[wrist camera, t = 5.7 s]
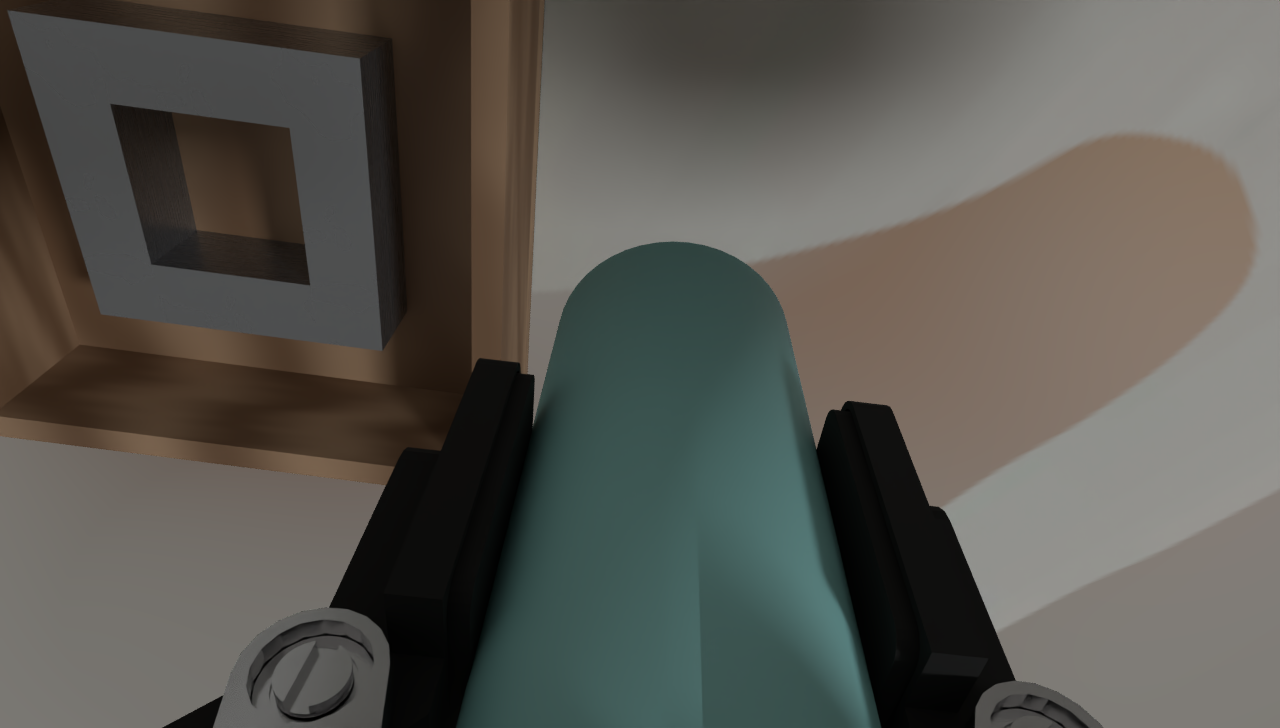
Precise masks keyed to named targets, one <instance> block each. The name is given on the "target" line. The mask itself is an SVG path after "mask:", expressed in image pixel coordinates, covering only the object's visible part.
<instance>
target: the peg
mask: <svg viewBox="0 0 1280 728" xmlns="http://www.w3.org/2000/svg"><path fill="white" fill-rule="evenodd" d="M456 728H881V724H880V720H879V716H878V712H877V707H876V703H875V699H874V694H873V690H872V686H871V682H870V677H869V673H868V669H867V665H866V660H865V656H864V652H863V647H862V643H861V639H860V635H859V630H858V626H857V622H856V617H855V613H854V609H853V605H852V600H851V596H850V592H849V587H848V583H847V579H846V575H845V570H844V566H843V562H842V558H841V553H840V549H839V545H838V540H837V536H836V532H835V528H834V523H833V519H832V515H831V510H830V506H829V502H828V498H827V493H826V489H825V485H824V480H823V476H822V472H821V468H820V463H819V459H818V455H817V451H816V446H815V442H814V438H813V434H812V429H811V425H810V421H809V416H808V412H807V408H806V404H805V399H804V395H803V391H802V386H801V382H800V378H799V374H798V369H797V365H796V361H795V357H794V352H793V348H792V344H791V339H790V335H789V331H788V327H787V322H786V319H785V315H784V312H783V309H782V307H781V305H780V303H779V301H778V299H777V297H776V295H775V294H774V292H773V291H772V289H771V288H770V286H769V285H768V284H767V283H766V282H765V281H764V279H763V278H762V277H761V276H760V275H759V274H758V273H757V272H755V271H754V270H753V269H752V268H751V267H749V266H748V265H747V264H745V263H744V262H742V261H740V260H739V259H737V258H736V257H734V256H732V255H729V254H727V253H725V252H723V251H721V250H718V249H714V248H711V247H708V246H705V245H699V244H694V243H687V242H659V243H652V244H646V245H641V246H638V247H634V248H631V249H628V250H625V251H623V252H621V253H619V254H616V255H614V256H612V257H610V258H609V259H607V260H605V261H604V262H602V263H601V264H599V265H598V266H596V267H595V268H594V269H593V270H592V271H590V272H589V273H588V274H587V275H586V276H585V277H584V278H583V279H582V280H581V281H580V283H579V284H578V285H577V286H576V288H575V289H574V291H573V292H572V294H571V295H570V297H569V299H568V301H567V303H566V305H565V307H564V309H563V312H562V316H561V319H560V322H559V326H558V330H557V334H556V338H555V342H554V346H553V350H552V354H551V358H550V362H549V365H548V369H547V373H546V377H545V381H544V385H543V389H542V393H541V397H540V401H539V405H538V408H537V413H536V416H535V420H534V424H533V428H532V434H531V438H530V442H529V446H528V449H527V453H526V457H525V461H524V465H523V469H522V473H521V477H520V481H519V485H518V489H517V493H516V497H515V500H514V504H513V508H512V512H511V516H510V520H509V524H508V528H507V532H506V536H505V540H504V544H503V547H502V551H501V555H500V559H499V563H498V567H497V571H496V575H495V579H494V583H493V587H492V591H491V595H490V598H489V602H488V606H487V610H486V614H485V618H484V622H483V626H482V630H481V634H480V638H479V642H478V646H477V649H476V653H475V657H474V661H473V665H472V669H471V673H470V676H469V679H468V682H467V686H466V689H465V693H464V697H463V701H462V705H461V709H460V713H459V717H458V721H457V724H456Z"/></svg>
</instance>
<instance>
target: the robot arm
mask: <svg viewBox="0 0 1280 728" xmlns="http://www.w3.org/2000/svg"><path fill="white" fill-rule="evenodd" d="M534 380H535V379H534V375H530V374H521V367H520V363H518V362H510V361H501V360H493V359H484V358H479V359H478V360H477V362H476V364H475V367H474V369H473V372H472V374H471V377H470V379H469V382H468V384H467V387H466V389H465V392H464V394H463V397H462V399H461V402H460V404H459V407H458V409H457V412H456V414H455V417H454V419H453V422H452V424H451V427H450V429H449V431H448V434H447V436H446V439H445V441H444V444H443V446H442V449H441V451H439V450H430V449H421V448H412V447H407V448H406V449H404V450H403V452H402V454H401V455H400V457H399V459H398V461H397V463H396V465H395V467H394V469H393V472H392V474H391V476H390V478H389V480H388V482H387V484H386V487H385V489H384V491H383V493H382V495H381V497H380V500H379V502H378V504H377V506H376V508H375V510H374V512H373V514H372V517H371V519H370V521H369V523H368V525H367V527H366V530H365V532H364V534H363V536H362V538H361V540H360V542H359V545H358V547H357V549H356V551H355V553H354V555H353V558H352V560H351V562H350V564H349V566H348V568H347V570H346V572H345V575H344V577H343V579H342V581H341V583H340V585H339V588H338V590H337V592H336V594H335V596H334V598H333V600H332V602H331V605H330V607H329V608H327V607H326V608H319V609H313V610H307V611H301V612H299V613H296V614H294V615H291V616H289V617H286V618H284V619H282V620H279V621H278V622H276V623H274V624H273V625H271V626H270V627H269V628H267V629H266V630H264V631H262V632H261V633H260V634H258V635H257V636H256V637H255V638H254V639H253V641H251V643H250V644H249V645H248V646H247V647H246V648H245V649H244V650H243V651H242V652H241V654H240V656H239V658H238V660H237V662H236V664H235V666H234V668H233V670H232V672H231V674H230V677H229V680H228V683H227V686H226V689H225V692H224V695H223V696H221V697H219V698H217V699H215V700H214V701H212V702H210V703H208V704H206V705H204V706H202V707H200V708H198V709H197V710H195V711H193V712H191V713H189V714H187V715H185V716H183V717H182V718H180V719H178V720H176V721H174V722H172V723H170V724H169V725H166V726H165V727H163V728H456V724H457V721H458V717H459V713H460V709H461V705H462V701H463V697H464V693H465V689H466V686H467V682H468V679H469V676H470V673H471V669H472V665H473V661H474V657H475V653H476V649H477V646H478V642H479V638H480V634H481V630H482V626H483V622H484V618H485V614H486V610H487V606H488V602H489V598H490V595H491V591H492V587H493V583H494V579H495V575H496V571H497V567H498V563H499V559H500V555H501V551H502V547H503V544H504V540H505V536H506V532H507V528H508V524H509V520H510V516H511V512H512V508H513V504H514V500H515V497H516V493H517V489H518V485H519V481H520V477H521V473H522V469H523V465H524V461H525V457H526V453H527V449H528V446H529V442H530V438H531V434H532V427H533V404H534V382H535V381H534ZM816 451H817V455H818V459H819V463H820V468H821V472H822V476H823V480H824V485H825V489H826V493H827V498H828V502H829V506H830V510H831V515H832V519H833V523H834V528H835V532H836V536H837V540H838V545H839V549H840V553H841V558H842V562H843V566H844V570H845V575H846V579H847V583H848V587H849V592H850V596H851V600H852V605H853V609H854V613H855V617H856V622H857V626H858V630H859V635H860V639H861V643H862V647H863V652H864V656H865V660H866V665H867V669H868V673H869V677H870V682H871V686H872V690H873V694H874V699H875V703H876V707H877V712H878V716H879V720H880V724H881V728H1103V727H1102V725H1101V724H1100V723H1099V722H1098V721H1097V720H1096V719H1094V718H1093V717H1092V716H1091V715H1090V714H1089V713H1088V712H1087V711H1085V710H1084V709H1083V708H1082V707H1081V706H1080V705H1078V704H1077V703H1075V702H1073V701H1072V700H1070V699H1068V698H1067V697H1065V696H1064V695H1062V694H1060V693H1059V692H1057V691H1054V690H1051V689H1049V688H1046V687H1043V686H1041V685H1038V684H1036V683H1028V682H1020V681H1016V680H1015V678H1014V675H1013V673H1012V670H1011V668H1010V666H1009V663H1008V661H1007V658H1006V656H1005V654H1004V651H1003V648H1002V646H1001V644H1000V641H999V639H998V637H997V634H996V631H995V629H994V627H993V624H992V622H991V619H990V617H989V614H988V612H987V610H986V607H985V605H984V602H983V600H982V597H981V595H980V593H979V590H978V588H977V585H976V583H975V580H974V578H973V576H972V573H971V571H970V568H969V566H968V563H967V561H966V559H965V556H964V554H963V551H962V549H961V546H960V544H959V542H958V539H957V537H956V534H955V532H954V529H953V527H952V524H951V522H950V520H949V518H948V516H947V515H946V513H945V511H943V510H942V509H941V508H939V507H934V506H929V504H928V501H927V498H926V496H925V493H924V491H923V488H922V486H921V483H920V480H919V478H918V475H917V473H916V470H915V468H914V465H913V463H912V460H911V457H910V455H909V452H908V450H907V447H906V445H905V442H904V439H903V437H902V434H901V432H900V429H899V426H898V424H897V421H896V419H895V416H894V414H893V411H892V409H891V408H890V407H889V406H887V405H879V404H871V403H862V402H854V401H847V402H845V404H844V405H843V407H842V409H841V411H839V410H831V411H829V413H828V415H827V417H826V420H825V424H824V427H823V430H822V434H821V437H820V440H819V443H818V447H817V450H816Z"/></svg>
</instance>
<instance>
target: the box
mask: <svg viewBox="0 0 1280 728" xmlns="http://www.w3.org/2000/svg"><path fill="white" fill-rule="evenodd" d="M45 1H50V0H0V436H4V437H11V438H19V439H27V440H35V441H43V442H51V443H59V444H66V445H75V446H83V447H90V448H98V449H106V450H113V451H122V452H130V453H137V454H145V455H153V456H161V457H169V458H177V459H184V460H192V461H201V462H208V463H216V464H224V465H231V466H239V467H248V468H255V469H263V470H271V471H279V472H287V473H295V474H302V475H310V476H318V477H327V478H334V479H343V480H350V481H357V482H366V483H373V484H381V485H386V484H387V482H388V480H389V478H390V476H391V474H392V472H393V469H394V467H395V465H396V463H397V461H398V459H399V457H400V455H401V454H402V452H403V450H404V449H406V448H407V447H412V448H421V449H430V450H439V451H441V449H442V446H443V444H444V441H445V439H446V436H447V434H448V431H449V429H450V427H451V424H452V422H453V419H454V417H455V414H456V412H457V409H458V407H459V404H460V402H461V399H462V397H463V394H464V392H465V389H466V387H467V384H468V382H469V379H470V377H471V374H472V372H473V369H474V367H475V364H476V362H477V360H478V359H479V358H484V359H493V360H501V361H510V362H518V363H520V367H521V374H527V372H528V371H527V370H528V350H529V328H530V307H531V285H532V263H533V242H534V220H535V198H536V177H537V155H538V133H539V112H540V90H541V68H542V47H543V25H544V3H545V0H117V1H124V2H132V3H139V4H146V5H153V6H161V7H168V8H175V9H183V10H190V11H197V12H204V13H212V14H219V15H226V16H233V17H241V18H248V19H255V20H263V21H270V22H277V23H284V24H292V25H299V26H306V27H313V28H321V29H328V30H335V31H343V32H350V33H357V34H364V35H372V36H379V37H386V38H392V41H393V59H394V78H395V96H396V114H397V132H398V150H399V168H400V186H401V205H402V223H403V241H404V259H405V277H406V295H407V313H406V314H405V316H404V317H403V319H402V321H401V322H400V324H399V325H398V327H397V329H396V330H395V332H394V334H393V335H392V337H391V338H390V340H389V342H388V343H387V345H386V346H385V348H384V350H383V351H378V350H370V349H363V348H355V347H347V346H340V345H332V344H324V343H317V342H309V341H301V340H294V339H286V338H278V337H271V336H263V335H255V334H248V333H240V332H232V331H224V330H217V329H209V328H201V327H194V326H186V325H178V324H171V323H163V322H155V321H148V320H140V319H132V318H125V317H117V316H109V315H102V314H101V313H100V310H99V307H98V303H97V300H96V297H95V294H94V290H93V287H92V284H91V281H90V277H89V274H88V271H87V268H86V264H85V261H84V258H83V255H82V251H81V248H80V245H79V242H78V238H77V235H76V232H75V229H74V225H73V222H72V219H71V216H70V213H69V209H68V206H67V203H66V200H65V196H64V193H63V190H62V187H61V183H60V180H59V177H58V174H57V170H56V167H55V164H54V161H53V157H52V154H51V151H50V148H49V144H48V141H47V138H46V135H45V131H44V128H43V125H42V122H41V118H40V115H39V112H38V109H37V106H36V102H35V99H34V96H33V93H32V89H31V86H30V83H29V80H28V76H27V73H26V70H25V67H24V63H23V60H22V57H21V54H20V50H19V47H18V44H17V41H16V37H15V34H14V31H13V28H12V24H11V21H10V18H9V15H8V11H7V10H11V9H15V8H19V7H24V6H28V5H32V4H37V3H41V2H45ZM172 117H173V122H174V126H175V131H176V136H177V140H178V145H179V150H180V154H181V159H182V164H183V168H184V173H185V178H186V182H187V187H188V192H189V196H190V201H191V206H192V210H193V215H194V220H195V224H196V229H197V230H200V231H208V232H216V233H223V234H231V235H238V236H246V237H253V238H261V239H268V240H276V241H283V242H291V243H299V244H305V241H304V234H303V226H302V219H301V211H300V204H299V196H298V189H297V181H296V173H295V166H294V158H293V151H292V143H291V136H290V128H286V127H279V126H271V125H264V124H256V123H249V122H242V121H234V120H227V119H219V118H212V117H205V116H197V115H190V114H182V113H175V112H172Z"/></svg>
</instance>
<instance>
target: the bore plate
mask: <svg viewBox="0 0 1280 728" xmlns="http://www.w3.org/2000/svg"><path fill="white" fill-rule="evenodd" d="M7 11H8V15H9V18H10V21H11V24H12V28H13V31H14V34H15V37H16V41H17V44H18V47H19V50H20V54H21V57H22V60H23V63H24V67H25V70H26V73H27V76H28V80H29V83H30V86H31V89H32V93H33V96H34V99H35V102H36V106H37V109H38V112H39V115H40V118H41V122H42V125H43V128H44V131H45V135H46V138H47V141H48V144H49V148H50V151H51V154H52V157H53V161H54V164H55V167H56V170H57V174H58V177H59V180H60V183H61V187H62V190H63V193H64V196H65V200H66V203H67V206H68V209H69V213H70V216H71V219H72V222H73V225H74V229H75V232H76V235H77V238H78V242H79V245H80V248H81V251H82V255H83V258H84V261H85V264H86V268H87V271H88V274H89V277H90V281H91V284H92V287H93V290H94V294H95V297H96V300H97V303H98V307H99V310H100V313H101V314H102V315H109V316H117V317H125V318H132V319H140V320H148V321H155V322H163V323H171V324H178V325H186V326H194V327H201V328H209V329H217V330H224V331H232V332H240V333H248V334H255V335H263V336H271V337H278V338H286V339H294V340H301V341H309V342H317V343H324V344H332V345H340V346H347V347H355V348H363V349H370V350H378V351H383V350H384V348H385V346H386V345H387V343H388V342H389V340H390V338H391V337H392V335H393V334H394V332H395V330H396V329H397V327H398V325H399V324H400V322H401V321H402V319H403V317H404V316H405V314H406V313H407V295H406V277H405V259H404V241H403V223H402V205H401V186H400V168H399V150H398V132H397V114H396V96H395V78H394V59H393V41H392V38H386V37H379V36H372V35H364V34H357V33H350V32H343V31H335V30H328V29H321V28H313V27H306V26H299V25H292V24H284V23H277V22H270V21H263V20H255V19H248V18H241V17H233V16H226V15H219V14H212V13H204V12H197V11H190V10H183V9H175V8H168V7H161V6H153V5H146V4H139V3H132V2H124V1H117V0H50V1H45V2H41V3H37V4H32V5H28V6H24V7H19V8H15V9H11V10H7ZM172 112H175V113H182V114H190V115H197V116H205V117H212V118H219V119H227V120H234V121H242V122H249V123H256V124H264V125H271V126H279V127H286V128H290V136H291V143H292V151H293V158H294V166H295V173H296V181H297V189H298V196H299V204H300V211H301V219H302V226H303V234H304V241H305V244H299V243H291V242H283V241H276V240H268V239H261V238H253V237H246V236H238V235H231V234H223V233H216V232H208V231H200V230H197V229H196V224H195V220H194V215H193V210H192V206H191V201H190V196H189V192H188V187H187V182H186V178H185V173H184V168H183V164H182V159H181V154H180V150H179V145H178V140H177V136H176V131H175V126H174V122H173V117H172Z"/></svg>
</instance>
